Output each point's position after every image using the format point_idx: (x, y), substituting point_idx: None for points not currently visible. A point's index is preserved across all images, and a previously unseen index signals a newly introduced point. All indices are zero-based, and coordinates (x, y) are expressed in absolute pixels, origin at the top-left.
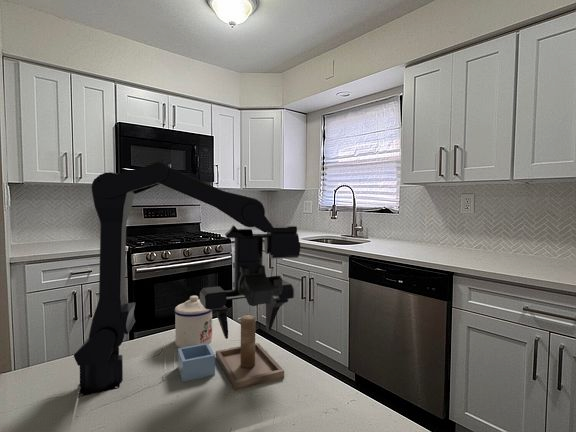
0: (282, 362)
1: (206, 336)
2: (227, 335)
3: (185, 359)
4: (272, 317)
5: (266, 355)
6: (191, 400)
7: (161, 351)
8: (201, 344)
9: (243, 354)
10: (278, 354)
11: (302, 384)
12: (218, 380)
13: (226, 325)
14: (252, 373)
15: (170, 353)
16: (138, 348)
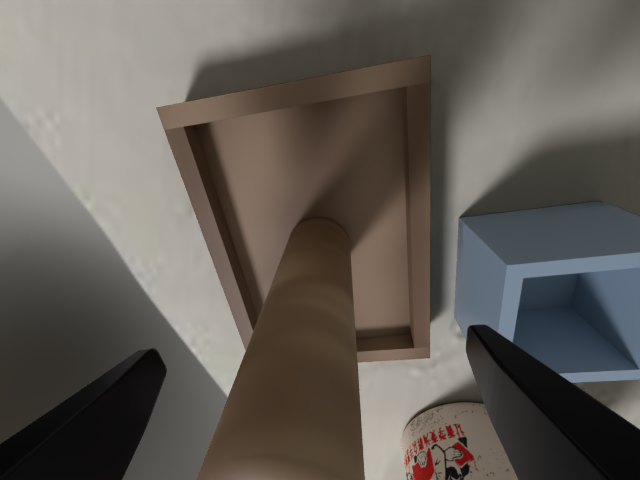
0: (179, 250)
1: (440, 448)
2: (487, 339)
3: (574, 329)
4: (20, 449)
5: (230, 270)
6: (617, 62)
7: None
8: None
9: (342, 255)
10: (190, 305)
11: (101, 49)
12: (451, 193)
13: (578, 426)
14: (312, 171)
15: None
16: None
